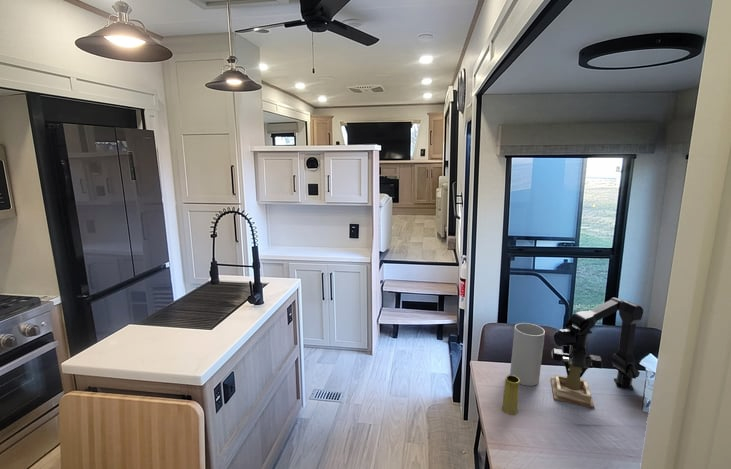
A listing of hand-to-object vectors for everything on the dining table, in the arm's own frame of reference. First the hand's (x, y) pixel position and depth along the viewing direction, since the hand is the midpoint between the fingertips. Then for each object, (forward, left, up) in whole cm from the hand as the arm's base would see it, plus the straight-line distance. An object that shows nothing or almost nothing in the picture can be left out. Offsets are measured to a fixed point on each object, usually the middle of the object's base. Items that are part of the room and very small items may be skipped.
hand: (573, 375), depth 163 cm
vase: (+22, -25, -9) cm, 35 cm away
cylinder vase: (-4, -19, -9) cm, 21 cm away
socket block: (0, 0, -9) cm, 9 cm away
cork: (0, 0, -5) cm, 5 cm away
